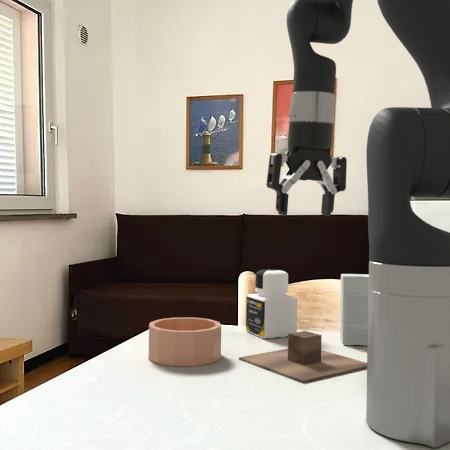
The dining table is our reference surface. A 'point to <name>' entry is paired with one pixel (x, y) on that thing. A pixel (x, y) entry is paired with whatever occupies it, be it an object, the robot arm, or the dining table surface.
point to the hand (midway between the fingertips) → (304, 215)
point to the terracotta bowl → (184, 341)
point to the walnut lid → (304, 360)
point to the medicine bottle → (271, 306)
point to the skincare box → (354, 309)
